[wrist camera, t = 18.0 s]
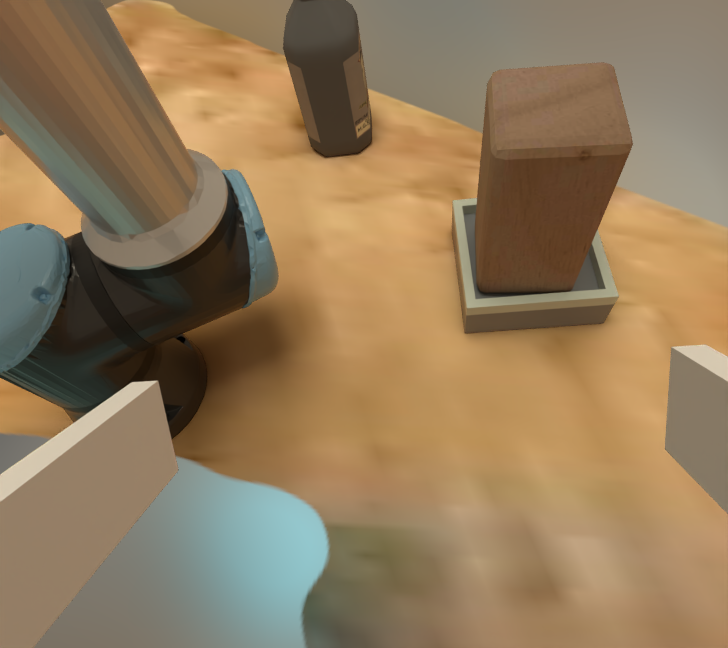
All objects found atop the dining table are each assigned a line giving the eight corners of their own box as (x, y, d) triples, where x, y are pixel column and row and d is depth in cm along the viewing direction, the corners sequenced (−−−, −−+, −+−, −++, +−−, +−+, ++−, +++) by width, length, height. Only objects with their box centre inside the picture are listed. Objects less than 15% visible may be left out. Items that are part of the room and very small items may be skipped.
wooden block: (573, 296, 51) (640, 142, 34) (476, 296, 53) (492, 149, 36) (563, 223, 56) (616, 55, 39) (474, 225, 58) (487, 65, 41)
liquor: (312, 160, 73) (241, -82, 47) (314, 119, 77) (251, -122, 52) (372, 153, 72) (334, -98, 46) (372, 112, 76) (336, -138, 51)
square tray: (464, 333, 55) (466, 308, 51) (451, 230, 63) (452, 200, 58) (603, 323, 54) (618, 296, 49) (573, 219, 61) (584, 187, 56)
